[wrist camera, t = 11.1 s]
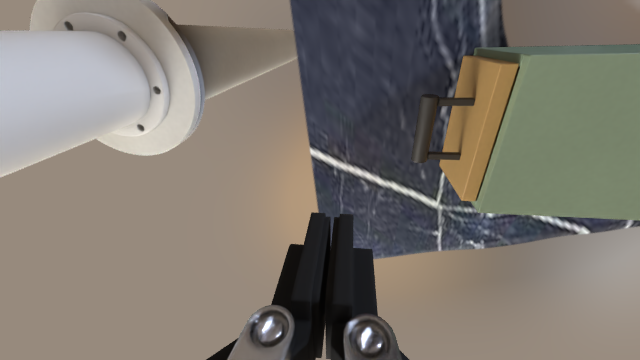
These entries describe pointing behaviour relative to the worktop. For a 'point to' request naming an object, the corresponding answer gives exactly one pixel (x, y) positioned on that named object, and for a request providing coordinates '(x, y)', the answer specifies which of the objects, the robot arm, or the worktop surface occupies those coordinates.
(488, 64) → the wooden pull-out drawer
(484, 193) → the green box
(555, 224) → the worktop surface
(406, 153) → the worktop surface
